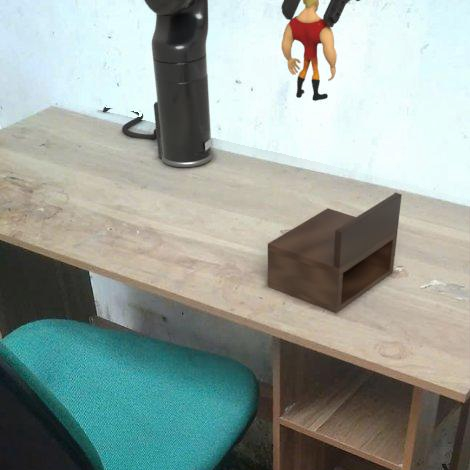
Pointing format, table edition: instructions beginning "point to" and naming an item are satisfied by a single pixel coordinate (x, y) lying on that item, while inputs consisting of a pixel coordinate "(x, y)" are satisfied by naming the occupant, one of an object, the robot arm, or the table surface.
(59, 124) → the table surface
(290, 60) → the action figure
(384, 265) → the shelf
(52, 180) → the table surface
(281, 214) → the table surface
